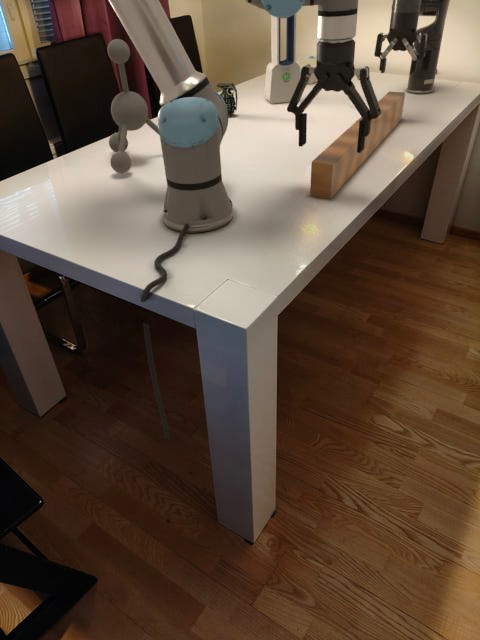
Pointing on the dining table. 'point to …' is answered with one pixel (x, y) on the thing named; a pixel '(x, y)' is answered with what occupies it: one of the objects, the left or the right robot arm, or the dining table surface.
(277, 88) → the electronic device
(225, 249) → the dining table surface
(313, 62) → the decorative block
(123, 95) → the molecular model
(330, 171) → the beam
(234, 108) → the grenade
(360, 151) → the left robot arm
